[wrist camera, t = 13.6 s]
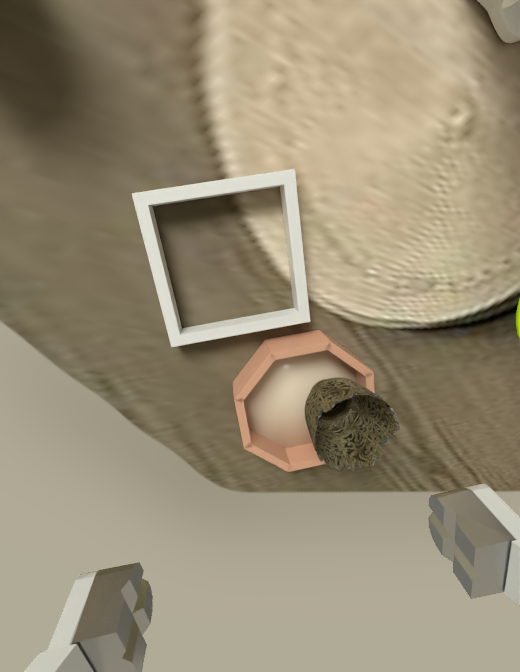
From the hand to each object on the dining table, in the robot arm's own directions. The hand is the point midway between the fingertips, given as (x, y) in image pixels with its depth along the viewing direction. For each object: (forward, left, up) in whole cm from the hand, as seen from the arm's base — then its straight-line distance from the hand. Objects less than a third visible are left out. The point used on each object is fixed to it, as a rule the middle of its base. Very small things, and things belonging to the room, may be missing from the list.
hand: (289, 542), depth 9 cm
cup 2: (-7, +10, -24) cm, 27 cm away
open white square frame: (0, -5, -24) cm, 25 cm away
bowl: (-5, +10, -24) cm, 27 cm away
